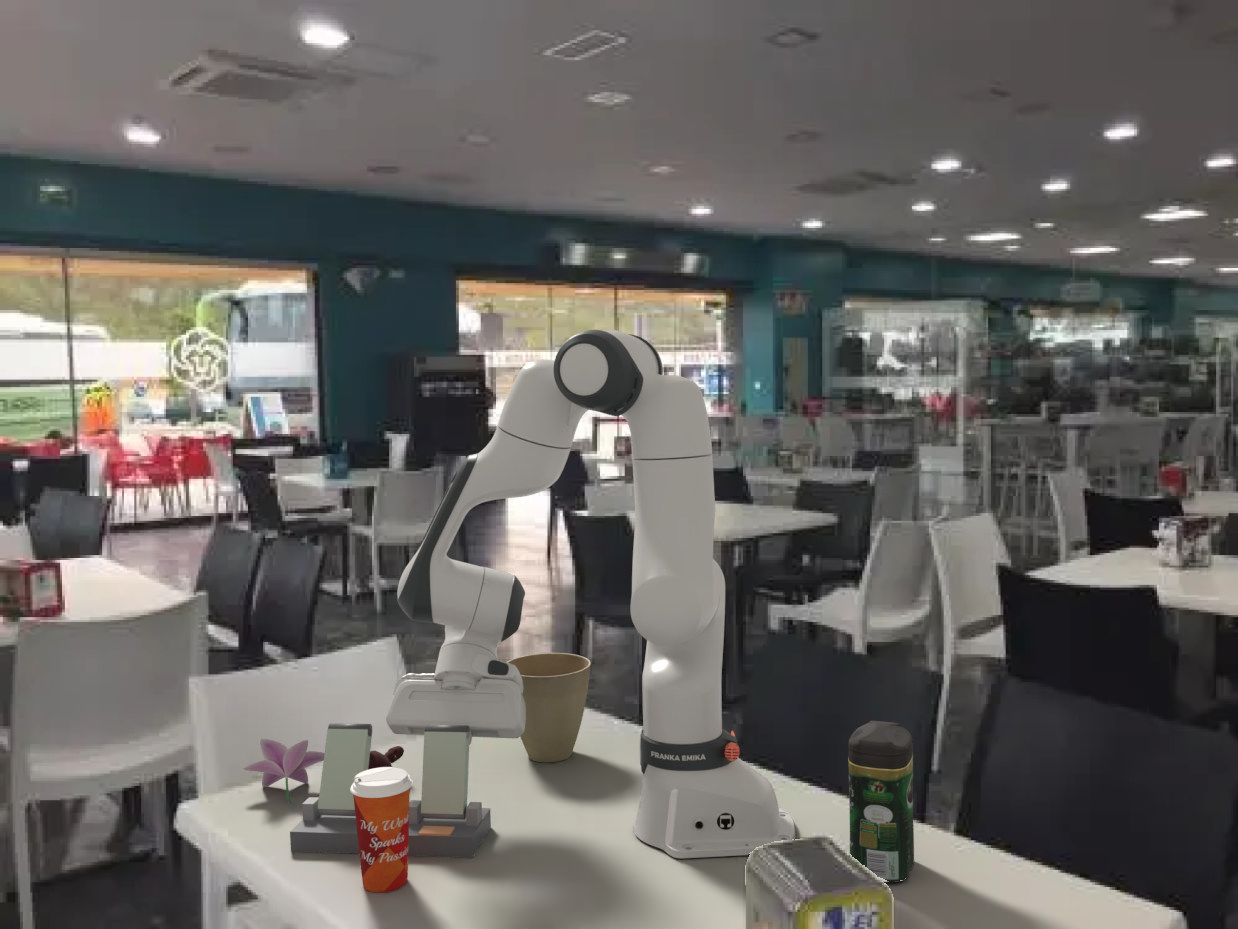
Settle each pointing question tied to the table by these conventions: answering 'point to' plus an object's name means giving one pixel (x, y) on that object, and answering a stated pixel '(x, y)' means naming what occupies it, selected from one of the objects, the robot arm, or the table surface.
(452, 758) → the lever
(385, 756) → the icecream
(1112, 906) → the table surface
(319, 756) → the lily
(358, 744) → the lever
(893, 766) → the coffee jar
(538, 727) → the plant pot
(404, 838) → the paper cup
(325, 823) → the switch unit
